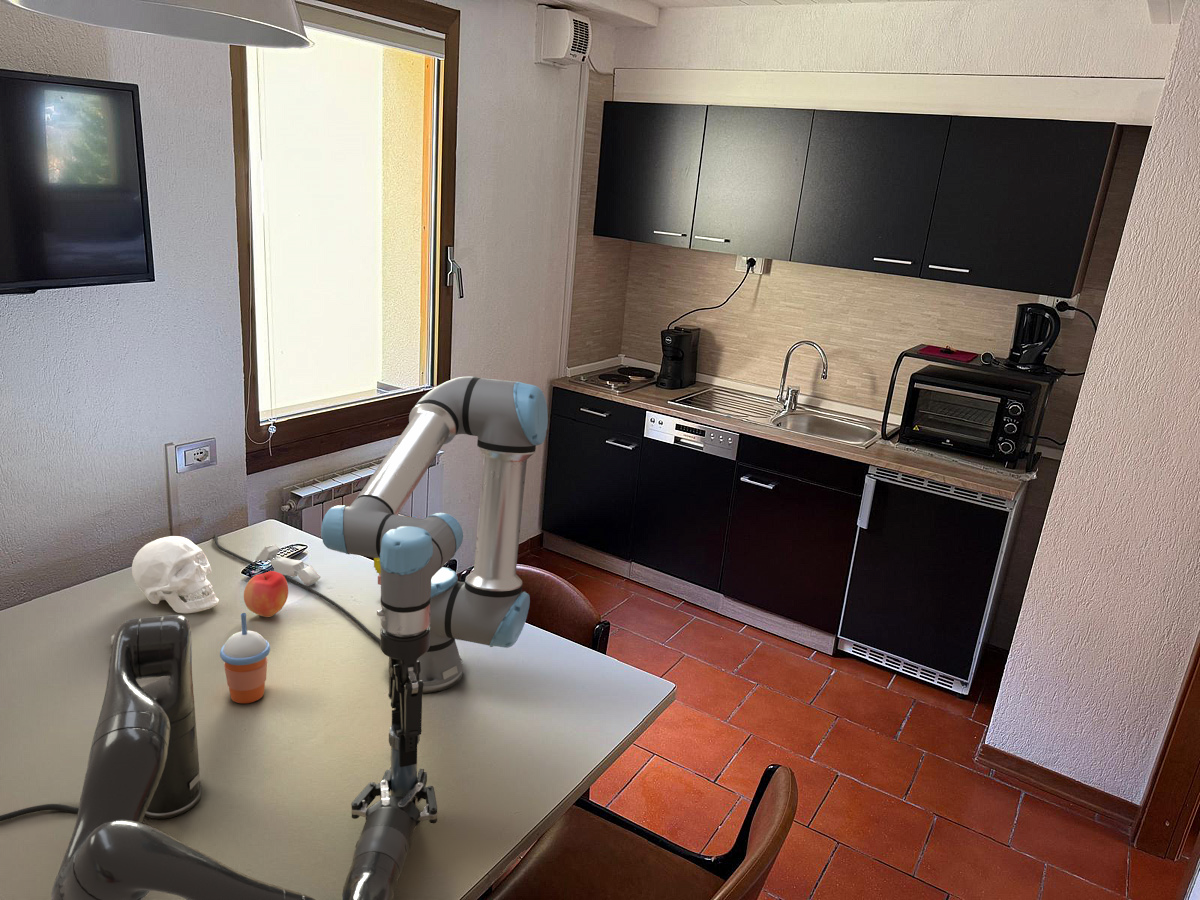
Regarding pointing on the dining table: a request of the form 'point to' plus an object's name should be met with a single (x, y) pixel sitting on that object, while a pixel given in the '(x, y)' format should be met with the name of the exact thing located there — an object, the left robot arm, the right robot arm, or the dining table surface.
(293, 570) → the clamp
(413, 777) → the blue thermos bottle
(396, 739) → the lid
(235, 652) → the cup with straw
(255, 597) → the apple
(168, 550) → the skull
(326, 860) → the dining table surface
